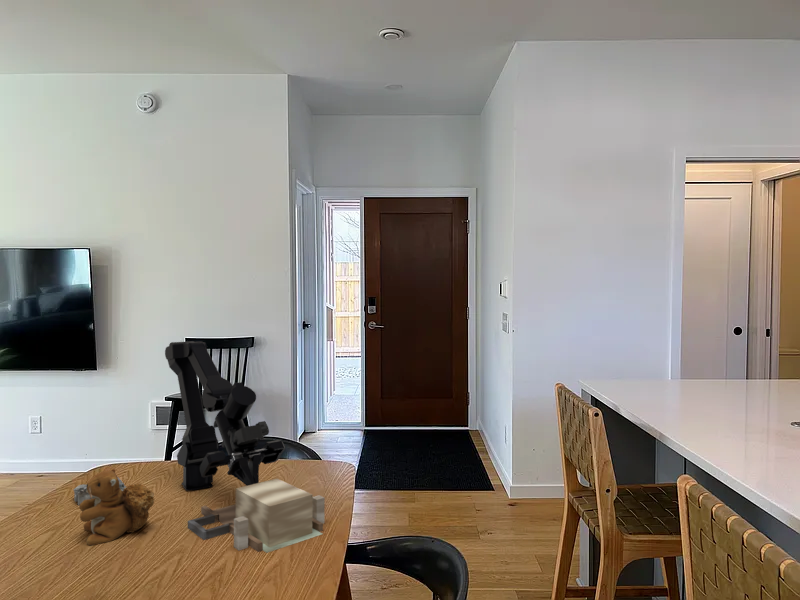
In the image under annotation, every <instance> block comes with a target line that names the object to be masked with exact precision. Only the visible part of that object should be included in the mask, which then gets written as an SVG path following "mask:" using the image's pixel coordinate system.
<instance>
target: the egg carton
mask: <svg viewBox="0 0 800 600" xmlns="http://www.w3.org/2000/svg"><path fill="white" fill-rule="evenodd" d="M117 477H118V480H119V488H120V489H121V490H122V491H123V490H124V489H125V488H126V487H127V486H126V485H125V482H123V480H122V479H121V478H120V476H117ZM72 490H73V493H74V495H73V496H74V497H73V499H74V502H75V503H76V502H77V505H78V506H79V505H80V503H82V502H83V501H84V500H87V499H91V497H90V495H89V494H88V492H87V493H86V491H87V484H79V485H77V486H76V487H75V488H74V489H72ZM94 498H95V497H92V499H94Z"/></svg>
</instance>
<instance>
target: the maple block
mask: <svg viewBox="0 0 800 600" xmlns="http://www.w3.org/2000/svg"><path fill="white" fill-rule="evenodd" d="M313 497H314V495H313V493H310V492H309V491H306V490H304V489H301V488H299V487H296V486H295V485H293V484H290V483H288V482H286V481H284V480H281V479H279V478H273V479H270V480H265V481H261V482H260V481H259V483H256V484H252V485H248V486H246V485H244V486H240V487H237V488H235V504H236V518H239V517H242V516H244V517H246V518H247V519H248V533H249V534H251V535H252V536H254V537H255V538H257V539H258V540H260V541H261V542H263V544H265V545H266V546H268V547H272V546H275V545H278V544H281V543H284V542H287V541H290V540H293V539H296V538H299V537H302V536H305V535H308V534H311V533H312V498H313Z"/></svg>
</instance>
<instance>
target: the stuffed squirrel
mask: <svg viewBox="0 0 800 600" xmlns="http://www.w3.org/2000/svg"><path fill="white" fill-rule="evenodd" d="M118 477H119V476H118V475H117V474H116V468H110V469H108V470H103V471H101V472H98V473H97V474H95V475H94V476H93V477H91V478H90V479H89V480H88V481H87V483H86V485H87V491H86V493H87V492H88V494H89V495H90V497H91V499H87V500H84V501H83V502H82V503H80V505H78V506H79V510H80V511H81V513H80V514H79V515H80V516H79V518H80V521H82V522H84V524H83V527H82V528H83V529H84V530H86V531H89V532H91V533H92V534H90V535H89V536H88V537H87V539H86V545H87V546H94V545H99V544H104V543H108V542H112V541H115V540H116V539H118V538H119V537H122V535H124V534H125V533H134V532H136V531H138V530H140V529H142V527H143V526H145V525H146V523H147V521H148V519H149V518H150V516H149V515H150V513H149V510H150V509H151V508H152V507H153V506H154V503H155V497H154V496H155V494H154V492H153V491H152V490H150V489H149V488H147V486H145V485H144V484H142V483H134V484H129V485H128V486H126V488H124V490H123V491H122V490H121V489H120V488H119V480H118ZM92 497H95V498H94V499H92Z"/></svg>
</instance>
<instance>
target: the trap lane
mask: <svg viewBox="0 0 800 600" xmlns="http://www.w3.org/2000/svg"><path fill="white" fill-rule="evenodd" d="M325 505H326V504H325V496H322V495H320V494H318V495H316V496H314V495H313V498H312V533H311V534H308V535H305V536H302V537H299V538H296V539H293V540H290V541H287V542H284V543H281V544H278V545H275V546H272V547H268V546H266V545H265V544H263V542H261V541H260V540H258V539H257V538H255V537H254V536H252V535H251V534H249V533H248V519H247V518H246V517H244V516H242V517H239V518H236V503H235V504H232V505H228V506H224V507H219V508H216V509H212V508H210V507H208V506H207V505H202V506H201V508H200V513H201V515H202V516H201V517H198V518H193V519H189V520H187V529H188V530H190V531H191V532H192V533H194V535H196V536H198V537H199V538H200V539H202V540H203V541H205V540H209V539H212V538H216V537H219V536H222V535H226V534H231V535H232V536H233V548H234V549H235V550H237V551H241V550H245V549H247V548H249V547H250V548H252V549H253V550H255V551H256V552H259V553H260V552H261V551H262V552H264V553H266V554H268V553H271V552H274V551H276V550H280V549H282V548H286V547H289V546H291V545H295V544H297V543H301V542H303V541H306V540H309V539H312V538H316V537H319V536H321V535H323V531H324V524H325ZM218 522H219V523H221V524H222V525H221V524H220V525H219V526H213V527H211V528H207V529H206V528H205V527H204V526H207V525H211V524H214V523H218Z"/></svg>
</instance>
